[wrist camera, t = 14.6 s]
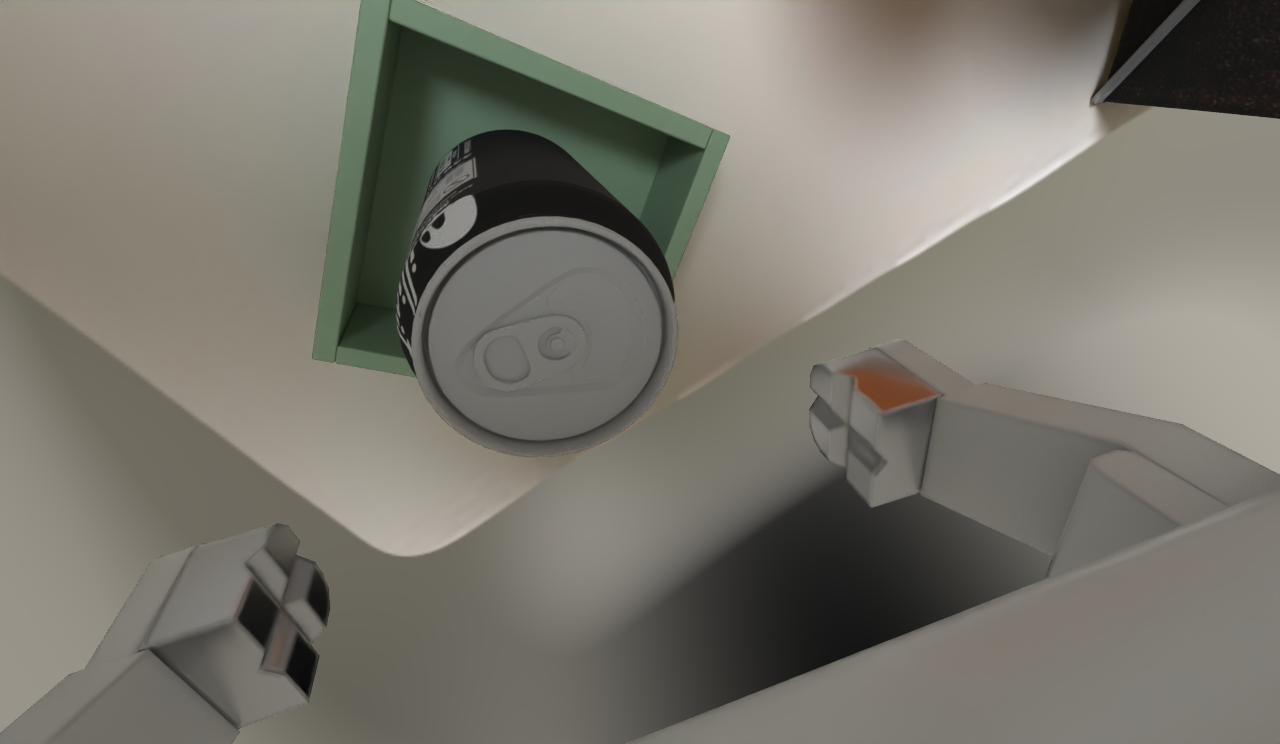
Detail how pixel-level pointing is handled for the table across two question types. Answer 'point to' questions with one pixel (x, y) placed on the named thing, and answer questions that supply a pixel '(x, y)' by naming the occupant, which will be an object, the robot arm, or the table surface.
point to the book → (1199, 57)
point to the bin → (454, 111)
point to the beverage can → (533, 300)
